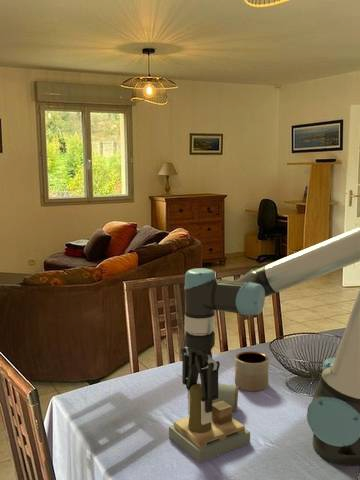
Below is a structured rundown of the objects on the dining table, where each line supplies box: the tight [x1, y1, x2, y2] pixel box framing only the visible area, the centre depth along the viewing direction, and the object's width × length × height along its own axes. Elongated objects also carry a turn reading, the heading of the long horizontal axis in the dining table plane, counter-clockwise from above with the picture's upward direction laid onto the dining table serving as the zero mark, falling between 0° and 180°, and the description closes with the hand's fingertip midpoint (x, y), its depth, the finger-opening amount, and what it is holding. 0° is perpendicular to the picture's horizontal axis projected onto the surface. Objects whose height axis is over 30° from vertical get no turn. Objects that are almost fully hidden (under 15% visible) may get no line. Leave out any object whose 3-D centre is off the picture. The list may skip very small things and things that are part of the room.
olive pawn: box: [188, 382, 211, 432], centre depth 129 cm, size 6×6×11 cm
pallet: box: [173, 416, 246, 448], centre depth 131 cm, size 12×14×2 cm
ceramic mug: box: [212, 382, 239, 412], centre depth 150 cm, size 11×8×8 cm
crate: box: [212, 401, 233, 425], centre depth 133 cm, size 4×4×4 cm
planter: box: [234, 350, 270, 393], centre depth 163 cm, size 11×11×10 cm
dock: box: [168, 424, 251, 464], centre depth 132 cm, size 14×16×3 cm
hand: (199, 417), depth 129 cm, fingers closed on olive pawn, 5 cm apart
